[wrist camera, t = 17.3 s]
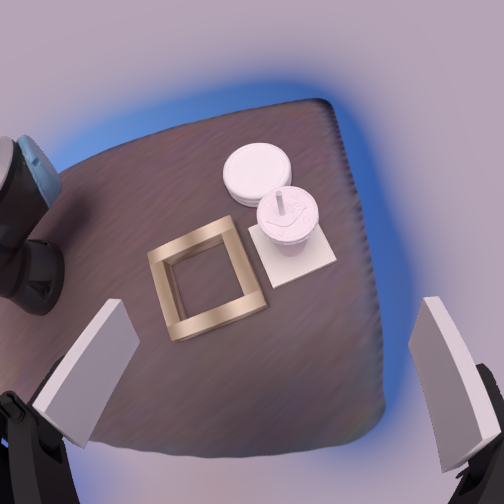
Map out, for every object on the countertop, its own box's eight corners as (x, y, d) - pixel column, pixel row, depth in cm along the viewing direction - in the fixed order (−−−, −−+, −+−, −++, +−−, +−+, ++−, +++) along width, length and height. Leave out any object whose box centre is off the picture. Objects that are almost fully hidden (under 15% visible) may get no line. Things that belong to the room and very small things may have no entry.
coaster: (289, 151, 43) (287, 138, 40) (294, 206, 40) (293, 194, 37) (228, 158, 45) (223, 145, 42) (227, 211, 42) (220, 201, 38)
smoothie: (260, 232, 38) (238, 177, 25) (303, 214, 38) (301, 152, 25) (278, 274, 36) (264, 236, 23) (323, 255, 36) (334, 206, 23)
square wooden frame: (181, 341, 37) (171, 341, 34) (156, 258, 41) (147, 252, 38) (268, 307, 36) (266, 304, 33) (234, 223, 41) (229, 214, 38)
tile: (273, 289, 37) (273, 287, 36) (249, 230, 40) (248, 228, 39) (335, 261, 37) (336, 259, 36) (307, 206, 40) (307, 203, 39)
